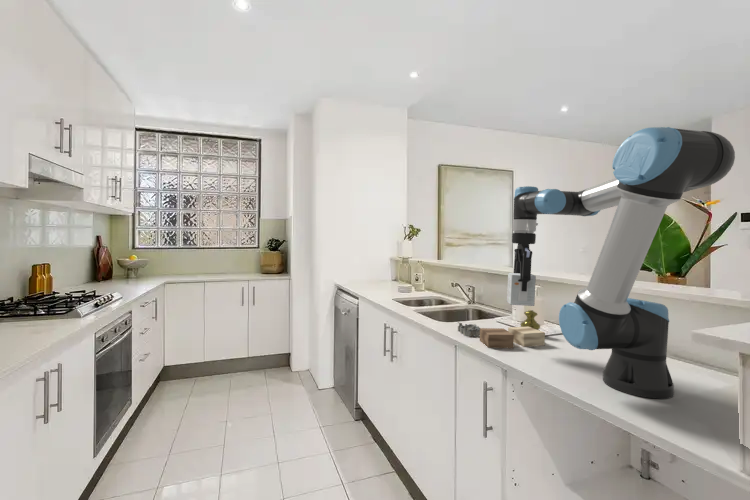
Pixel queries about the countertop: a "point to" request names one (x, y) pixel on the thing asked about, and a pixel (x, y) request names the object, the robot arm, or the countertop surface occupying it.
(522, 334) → the maple block
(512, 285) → the small box
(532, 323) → the olive-gold lumpy piece
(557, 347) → the countertop surface
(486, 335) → the walnut block
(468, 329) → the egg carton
